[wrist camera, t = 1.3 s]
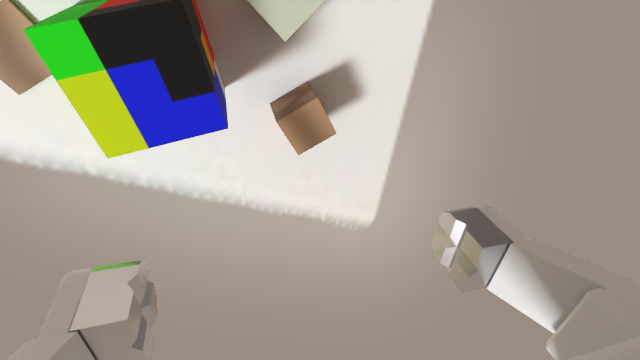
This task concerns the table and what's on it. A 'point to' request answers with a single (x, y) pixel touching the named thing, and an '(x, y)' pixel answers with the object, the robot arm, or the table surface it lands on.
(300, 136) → the walnut block
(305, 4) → the sage block
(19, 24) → the swatch tile
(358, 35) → the table surface
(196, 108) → the puzzle toy
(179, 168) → the table surface
